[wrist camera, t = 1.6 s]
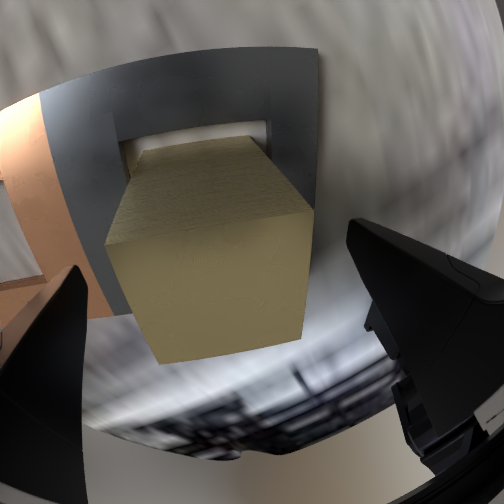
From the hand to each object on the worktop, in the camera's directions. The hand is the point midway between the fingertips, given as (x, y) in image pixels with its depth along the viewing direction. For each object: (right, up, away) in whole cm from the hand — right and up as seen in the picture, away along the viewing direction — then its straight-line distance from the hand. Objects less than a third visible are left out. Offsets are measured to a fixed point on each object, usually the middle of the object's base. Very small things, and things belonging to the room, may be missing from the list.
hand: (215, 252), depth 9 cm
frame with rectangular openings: (-7, +2, +3) cm, 8 cm away
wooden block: (-1, +3, +4) cm, 5 cm away
